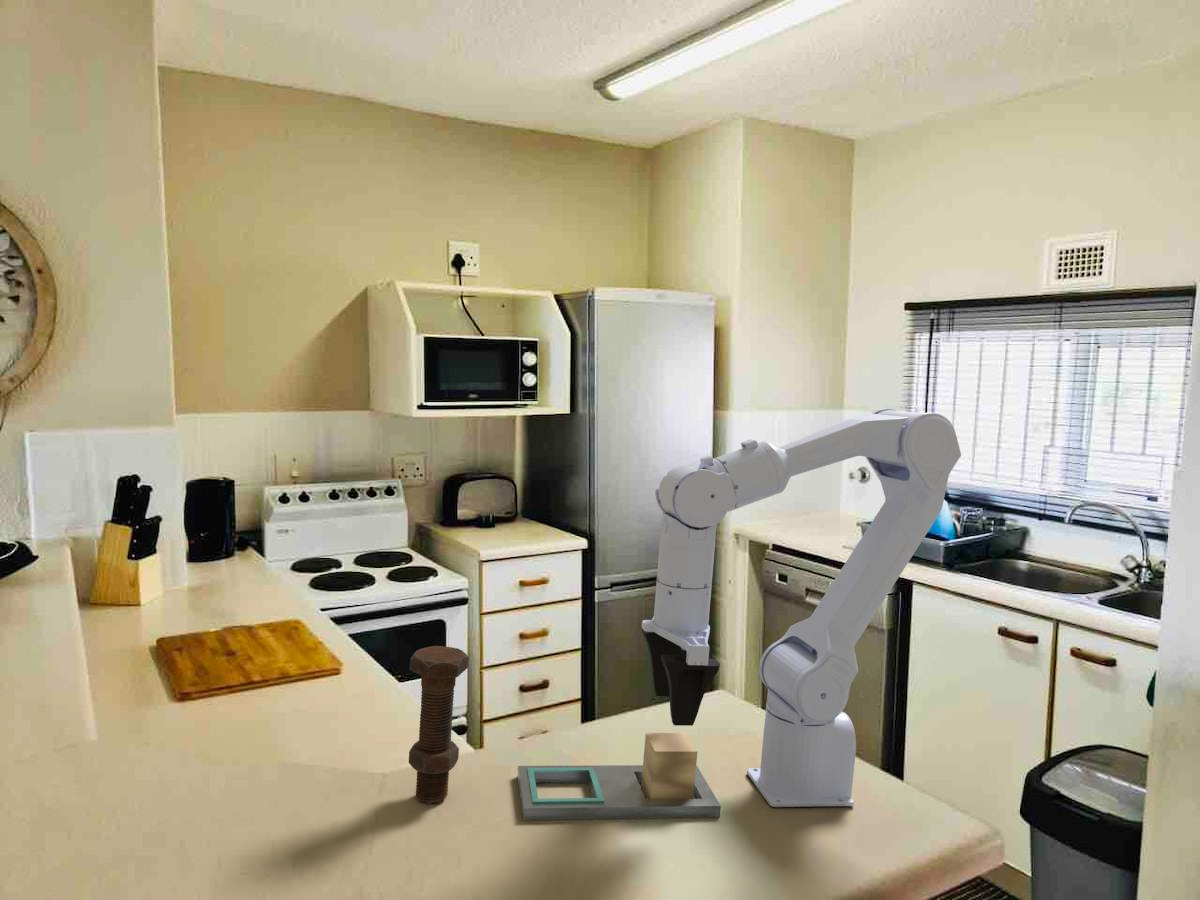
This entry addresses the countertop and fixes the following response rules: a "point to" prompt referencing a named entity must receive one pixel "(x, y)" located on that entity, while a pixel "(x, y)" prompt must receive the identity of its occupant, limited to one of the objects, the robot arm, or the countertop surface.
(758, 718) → the countertop surface
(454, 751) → the bolt
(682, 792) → the oak block
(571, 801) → the grey peg insertion board
